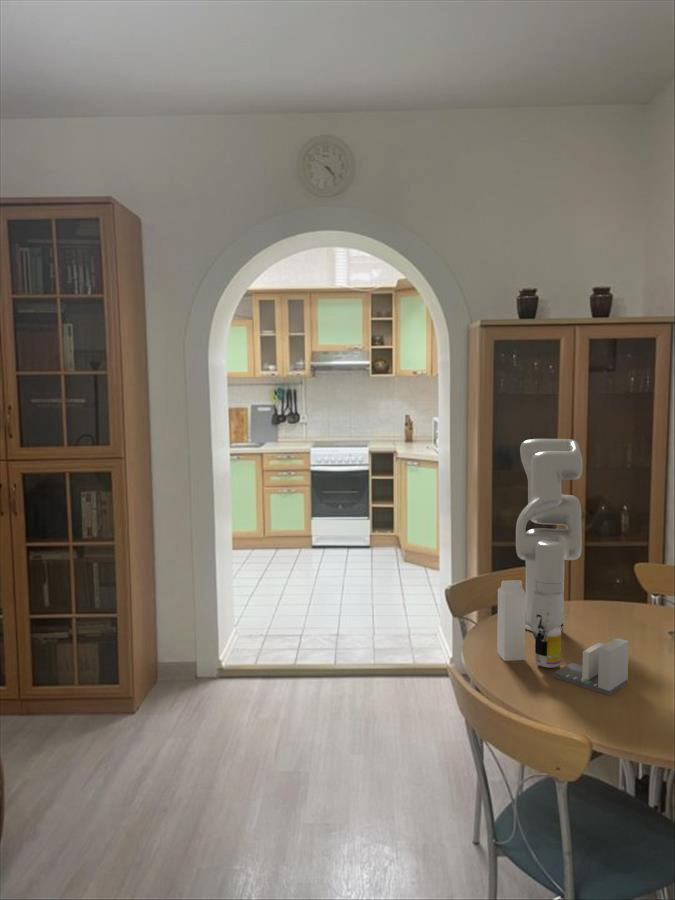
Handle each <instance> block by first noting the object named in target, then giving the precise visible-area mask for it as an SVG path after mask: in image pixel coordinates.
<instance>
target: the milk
mask: <svg viewBox="0 0 675 900" xmlns="http://www.w3.org/2000/svg"><path fill="white" fill-rule="evenodd" d="M500 583H501V586H500V587H499V588H497V633H496V634H497V638H496V639H497V641H496V642H497V643H496V644H497V645H496V654H497V655H499V657H500V658H501V659H502V660H503V662H509V661H511V662H514V661H515V662H516V661H526V659H525V657H526V653H525V652H526V629H525V604H526V591H525V590H524V587H523V581H522V580H521V579H520V580H519V579H517V580H514V579H513V580H502V581H501V582H500Z"/></svg>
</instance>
